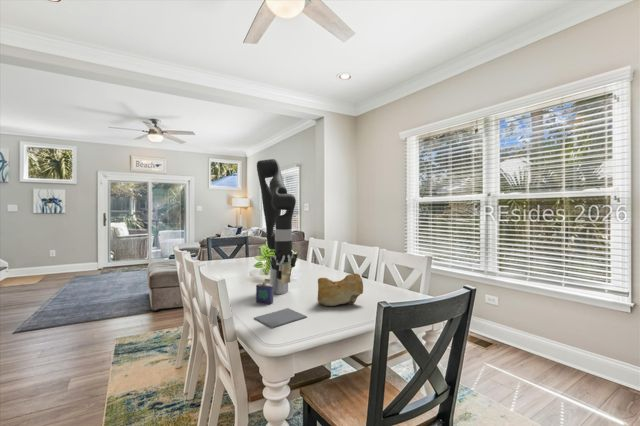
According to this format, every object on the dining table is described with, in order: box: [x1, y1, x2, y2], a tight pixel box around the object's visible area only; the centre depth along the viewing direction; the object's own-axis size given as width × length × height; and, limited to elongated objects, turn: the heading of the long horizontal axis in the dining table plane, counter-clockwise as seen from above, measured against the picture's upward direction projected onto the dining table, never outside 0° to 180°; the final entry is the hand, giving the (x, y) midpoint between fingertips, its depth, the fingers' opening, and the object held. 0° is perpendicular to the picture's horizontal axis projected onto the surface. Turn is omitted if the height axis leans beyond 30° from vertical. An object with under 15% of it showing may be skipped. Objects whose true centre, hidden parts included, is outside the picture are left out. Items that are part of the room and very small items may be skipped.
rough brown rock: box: [317, 273, 364, 307], centre depth 157 cm, size 23×17×15 cm
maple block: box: [277, 262, 291, 284], centre depth 135 cm, size 4×4×9 cm
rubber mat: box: [253, 307, 308, 329], centre depth 134 cm, size 18×14×1 cm
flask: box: [255, 281, 274, 305], centre depth 155 cm, size 9×3×11 cm, turn 74°
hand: (283, 278), depth 135 cm, fingers closed on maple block, 4 cm apart
